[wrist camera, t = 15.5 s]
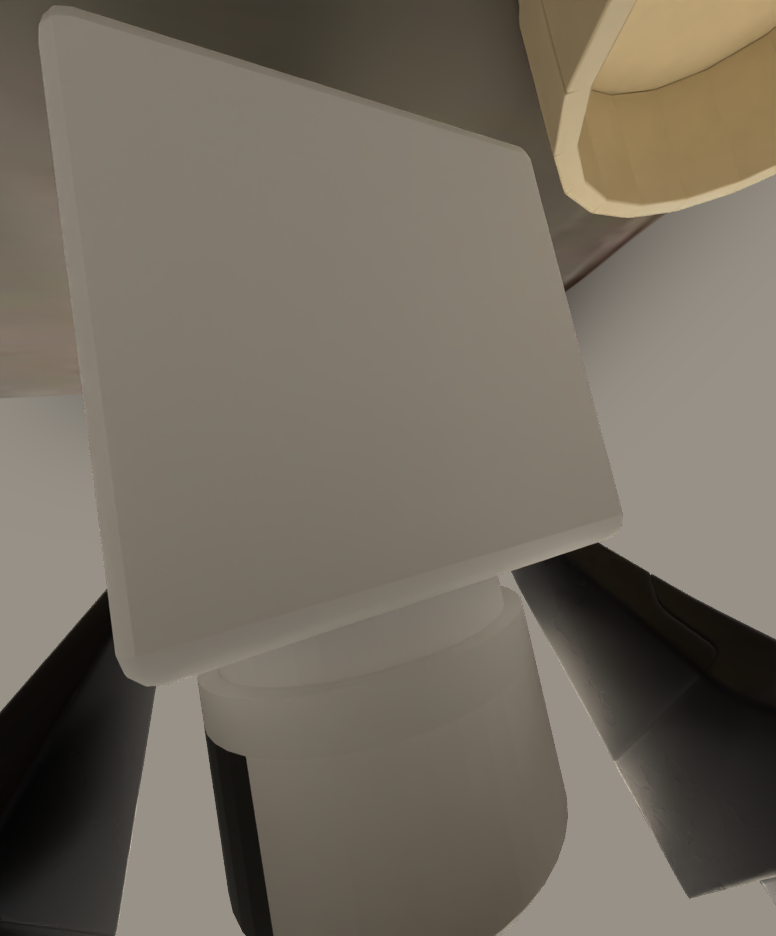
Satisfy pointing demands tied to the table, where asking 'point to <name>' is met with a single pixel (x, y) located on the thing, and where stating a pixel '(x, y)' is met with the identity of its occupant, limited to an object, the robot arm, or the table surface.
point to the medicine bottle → (327, 467)
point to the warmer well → (654, 98)
